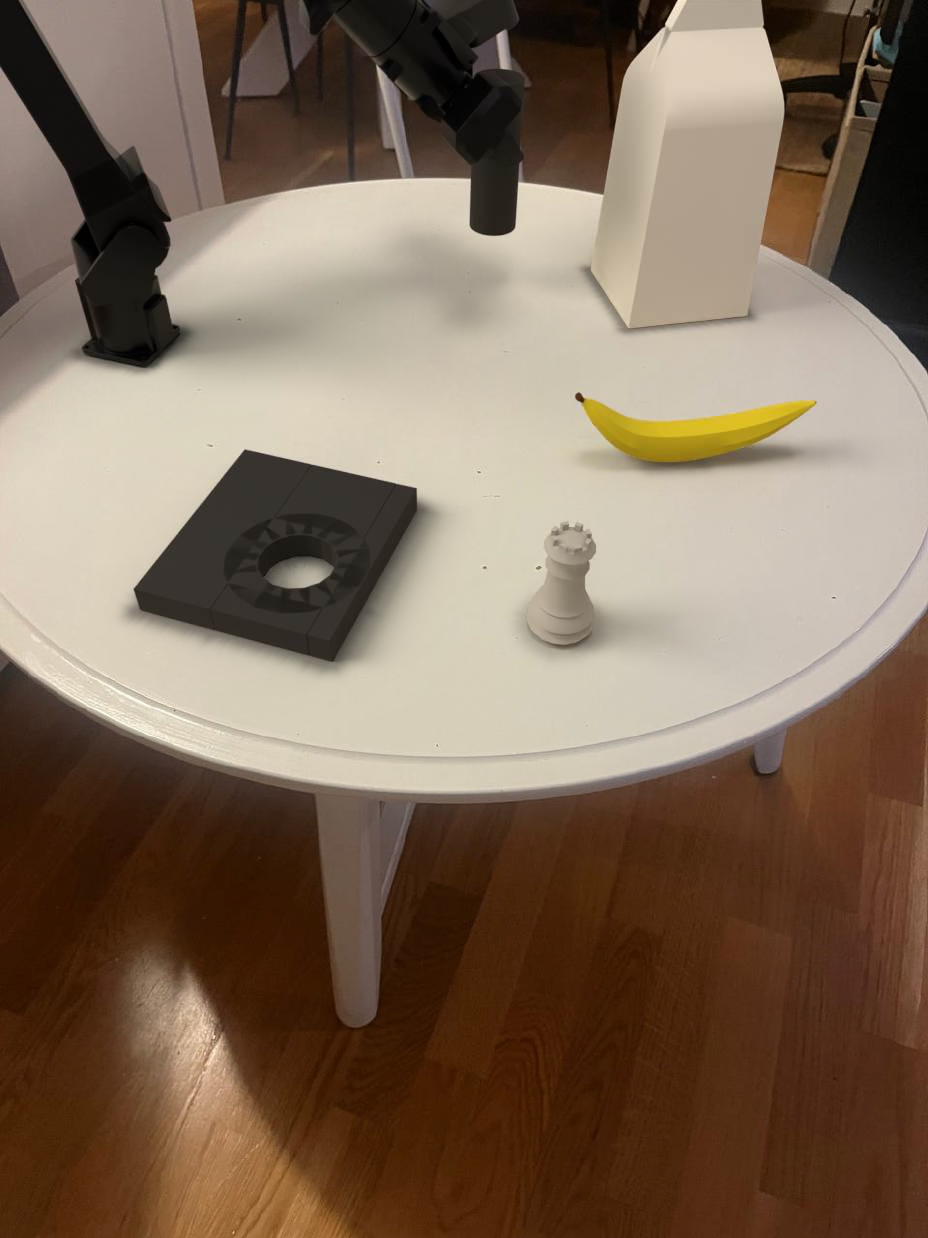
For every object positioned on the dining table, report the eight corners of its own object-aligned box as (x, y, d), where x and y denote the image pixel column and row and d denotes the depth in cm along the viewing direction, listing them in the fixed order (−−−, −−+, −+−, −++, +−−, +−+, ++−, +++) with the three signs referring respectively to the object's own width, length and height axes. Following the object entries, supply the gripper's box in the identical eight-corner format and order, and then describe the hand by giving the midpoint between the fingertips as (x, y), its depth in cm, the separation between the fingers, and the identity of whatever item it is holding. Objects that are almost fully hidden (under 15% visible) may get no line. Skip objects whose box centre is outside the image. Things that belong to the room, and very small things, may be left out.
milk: (628, 328, 91) (678, 12, 72) (590, 270, 99) (626, -30, 80) (747, 315, 93) (825, 5, 74) (700, 259, 101) (761, -35, 82)
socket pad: (139, 610, 65) (132, 588, 64) (248, 469, 76) (244, 448, 74) (332, 661, 63) (330, 641, 61) (417, 508, 73) (417, 487, 72)
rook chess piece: (522, 601, 67) (530, 512, 61) (586, 598, 67) (601, 509, 61) (530, 650, 64) (540, 561, 58) (598, 647, 64) (614, 558, 58)
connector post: (463, 231, 92) (466, 81, 82) (477, 212, 95) (482, 65, 85) (508, 239, 91) (516, 88, 81) (520, 219, 94) (530, 71, 84)
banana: (805, 464, 78) (828, 396, 73) (570, 473, 76) (579, 405, 72) (793, 442, 80) (815, 374, 75) (564, 451, 78) (572, 383, 74)
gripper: (505, -35, 69) (622, 114, 80) (418, -93, 81) (530, 43, 92) (402, 97, 72) (527, 222, 83) (333, 22, 84) (451, 140, 95)
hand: (509, 151), depth 88 cm, fingers closed on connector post, 4 cm apart
